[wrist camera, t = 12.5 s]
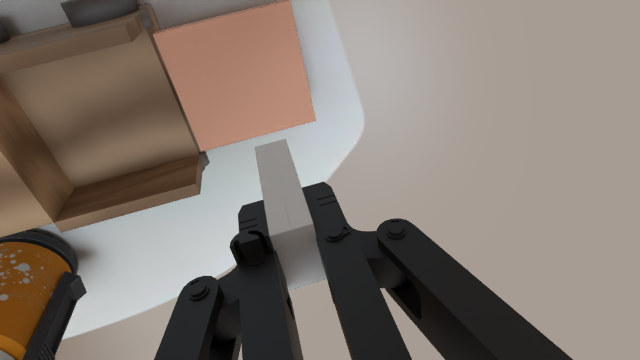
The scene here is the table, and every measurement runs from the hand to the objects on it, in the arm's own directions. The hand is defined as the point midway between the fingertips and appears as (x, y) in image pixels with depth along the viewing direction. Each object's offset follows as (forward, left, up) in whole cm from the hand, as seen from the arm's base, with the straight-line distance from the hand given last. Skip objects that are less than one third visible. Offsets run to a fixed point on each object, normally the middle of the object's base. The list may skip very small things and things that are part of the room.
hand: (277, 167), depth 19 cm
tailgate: (0, -7, -16) cm, 17 cm away
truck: (0, -15, -21) cm, 25 cm away
